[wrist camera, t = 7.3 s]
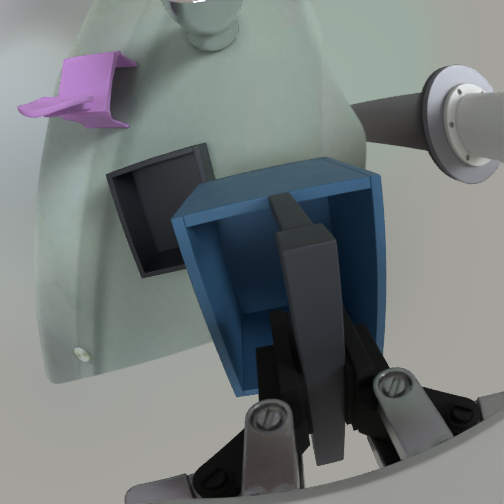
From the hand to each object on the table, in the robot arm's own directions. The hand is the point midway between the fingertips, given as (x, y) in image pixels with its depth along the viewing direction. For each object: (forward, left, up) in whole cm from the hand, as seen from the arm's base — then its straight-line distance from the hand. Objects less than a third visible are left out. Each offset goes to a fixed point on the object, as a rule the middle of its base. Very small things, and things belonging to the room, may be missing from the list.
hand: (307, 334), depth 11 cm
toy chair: (+15, -18, -26) cm, 35 cm away
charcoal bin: (+10, -2, -26) cm, 28 cm away
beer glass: (+1, -22, -26) cm, 34 cm away
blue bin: (0, 0, -10) cm, 10 cm away
